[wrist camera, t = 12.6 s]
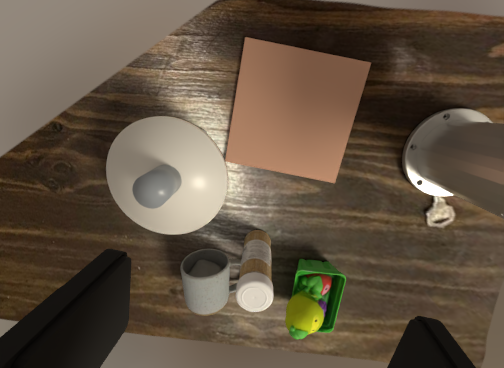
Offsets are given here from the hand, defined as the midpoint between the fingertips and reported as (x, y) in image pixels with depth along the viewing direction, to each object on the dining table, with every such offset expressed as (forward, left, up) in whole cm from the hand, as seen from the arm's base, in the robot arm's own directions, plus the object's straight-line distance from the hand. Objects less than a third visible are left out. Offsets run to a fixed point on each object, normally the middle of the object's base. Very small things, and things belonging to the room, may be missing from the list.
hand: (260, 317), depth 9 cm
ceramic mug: (+4, +22, -32) cm, 39 cm away
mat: (-3, -6, -32) cm, 32 cm away
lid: (+12, +5, -26) cm, 29 cm away
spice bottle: (-2, +15, -32) cm, 35 cm away
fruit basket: (-12, +21, -32) cm, 40 cm away
